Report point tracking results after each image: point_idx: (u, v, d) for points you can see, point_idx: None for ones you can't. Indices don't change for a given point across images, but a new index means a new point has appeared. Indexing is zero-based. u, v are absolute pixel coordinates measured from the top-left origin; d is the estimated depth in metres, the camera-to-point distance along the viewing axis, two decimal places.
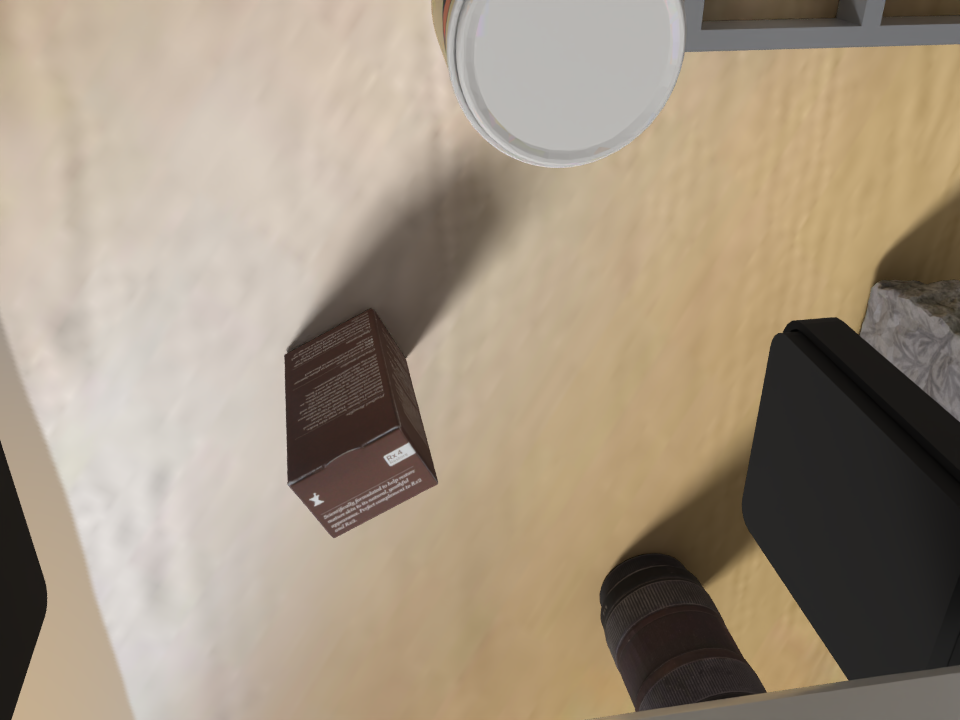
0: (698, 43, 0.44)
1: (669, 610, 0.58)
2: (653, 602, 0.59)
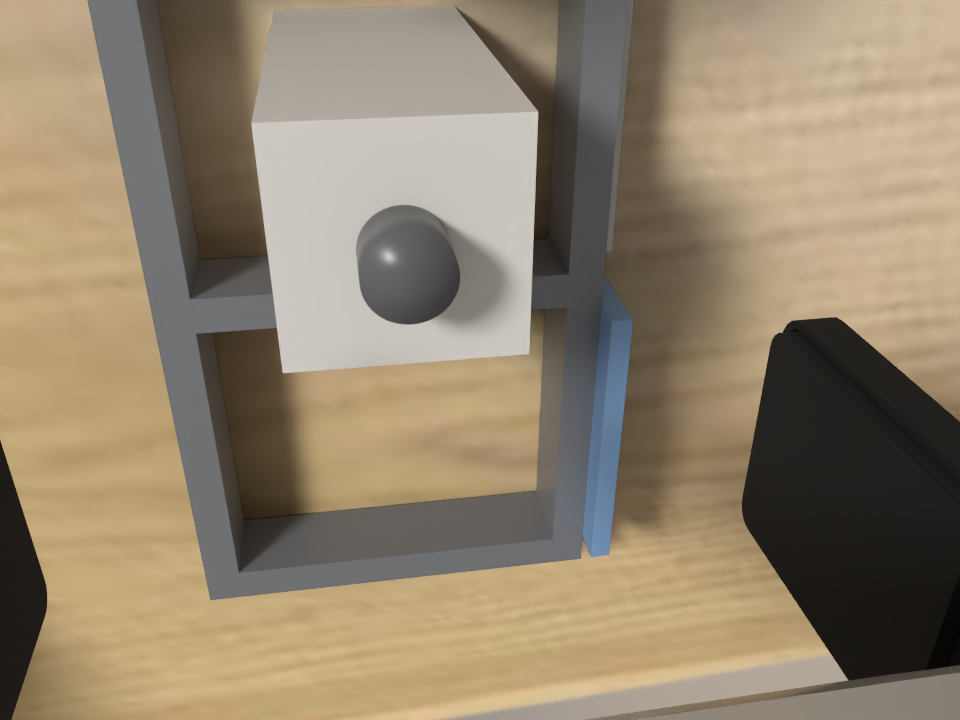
0: None
1: None
2: None
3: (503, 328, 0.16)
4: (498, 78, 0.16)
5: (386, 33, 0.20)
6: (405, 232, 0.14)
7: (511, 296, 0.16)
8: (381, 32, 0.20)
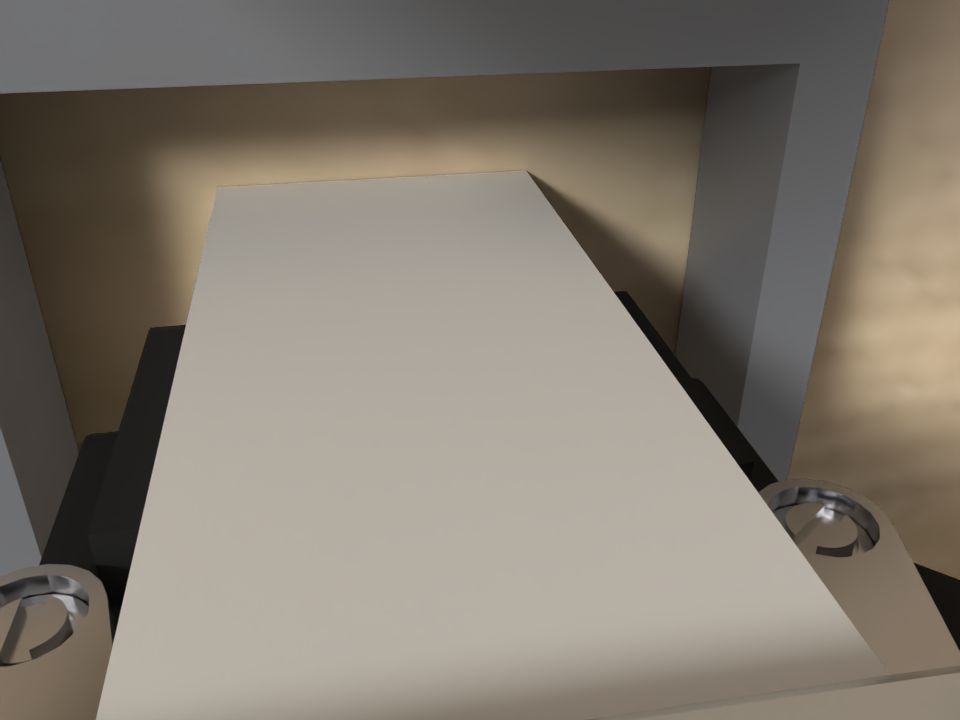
0: None
1: None
2: None
3: None
4: (719, 483, 0.07)
5: (423, 267, 0.10)
6: None
7: None
8: (413, 263, 0.10)
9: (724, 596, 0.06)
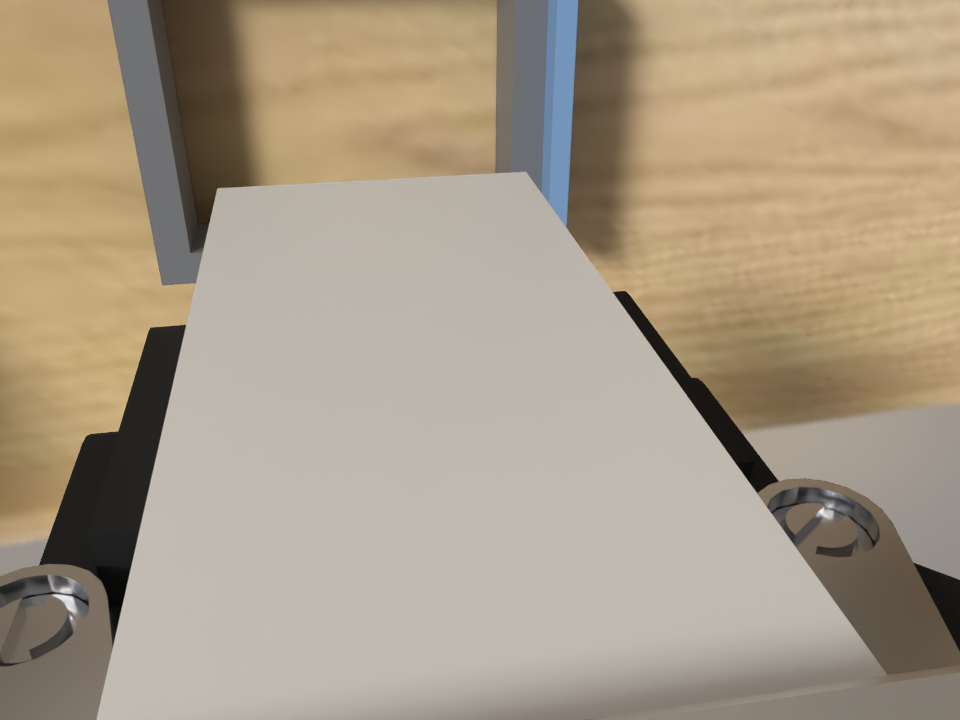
0: None
1: None
2: None
3: None
4: (720, 486, 0.07)
5: (424, 269, 0.10)
6: None
7: None
8: (413, 265, 0.10)
9: (725, 599, 0.06)
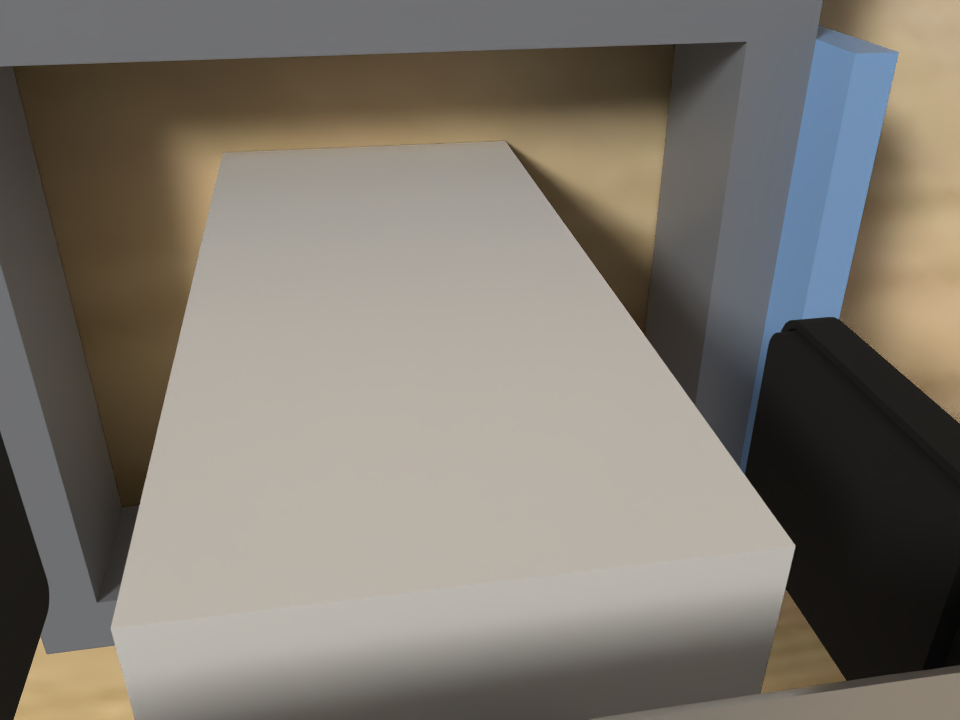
0: None
1: None
2: None
3: None
4: (651, 382, 0.08)
5: (408, 218, 0.12)
6: None
7: None
8: (399, 215, 0.12)
9: (645, 460, 0.07)
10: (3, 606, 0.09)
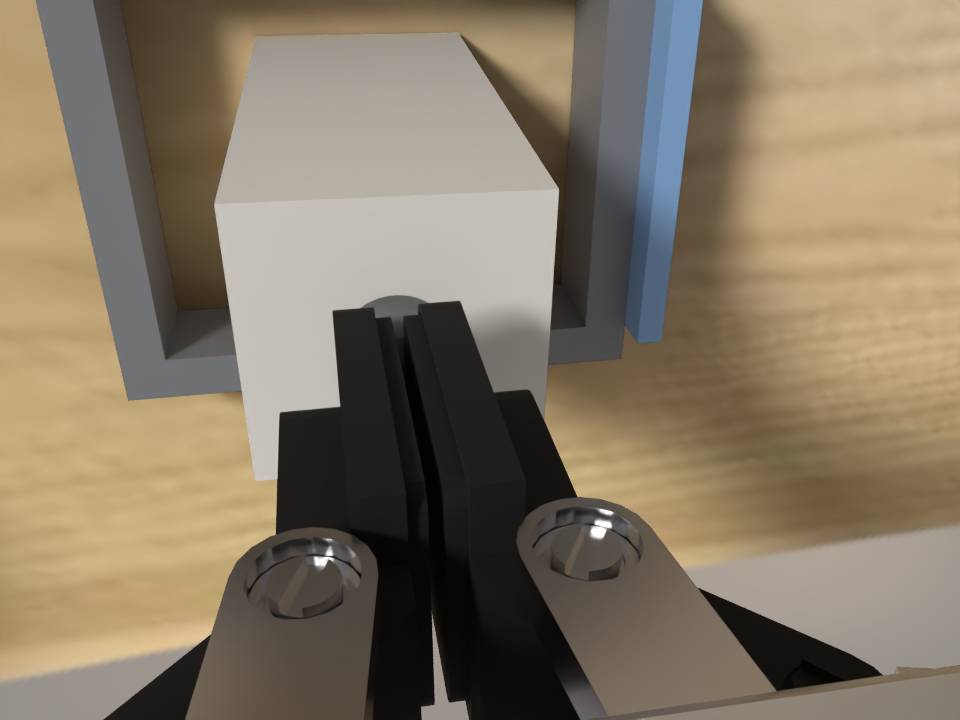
0: None
1: None
2: None
3: None
4: (510, 137, 0.14)
5: (381, 70, 0.17)
6: (398, 336, 0.12)
7: None
8: (375, 68, 0.18)
9: (494, 163, 0.13)
10: None
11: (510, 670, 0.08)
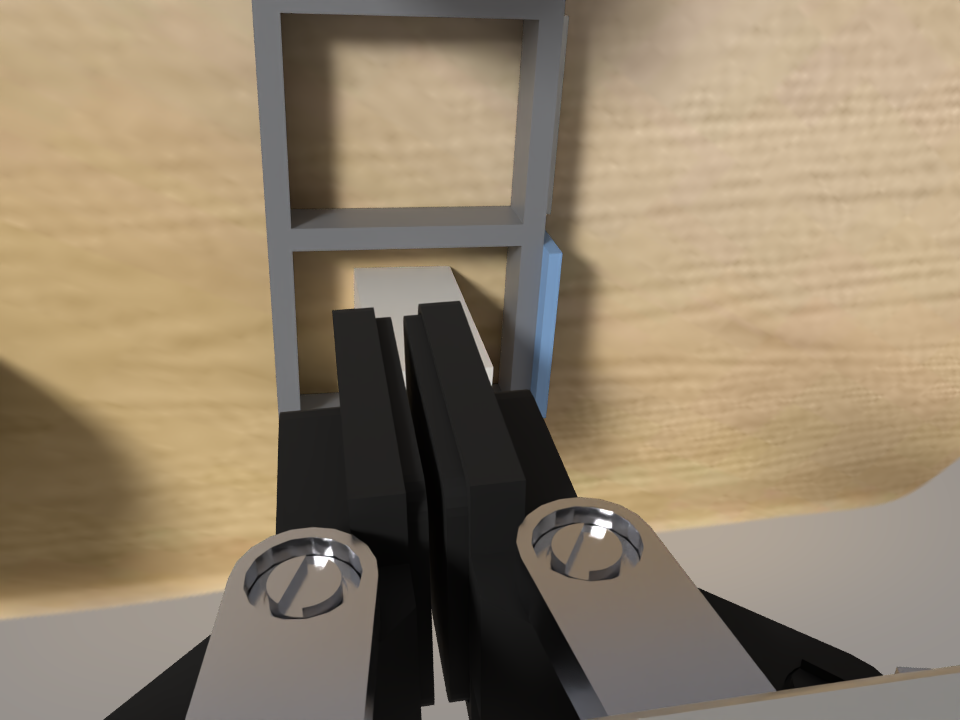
0: (262, 10, 0.33)
1: None
2: None
3: None
4: (475, 340, 0.36)
5: (418, 295, 0.39)
6: None
7: None
8: (415, 294, 0.39)
9: None
10: None
11: (510, 670, 0.08)
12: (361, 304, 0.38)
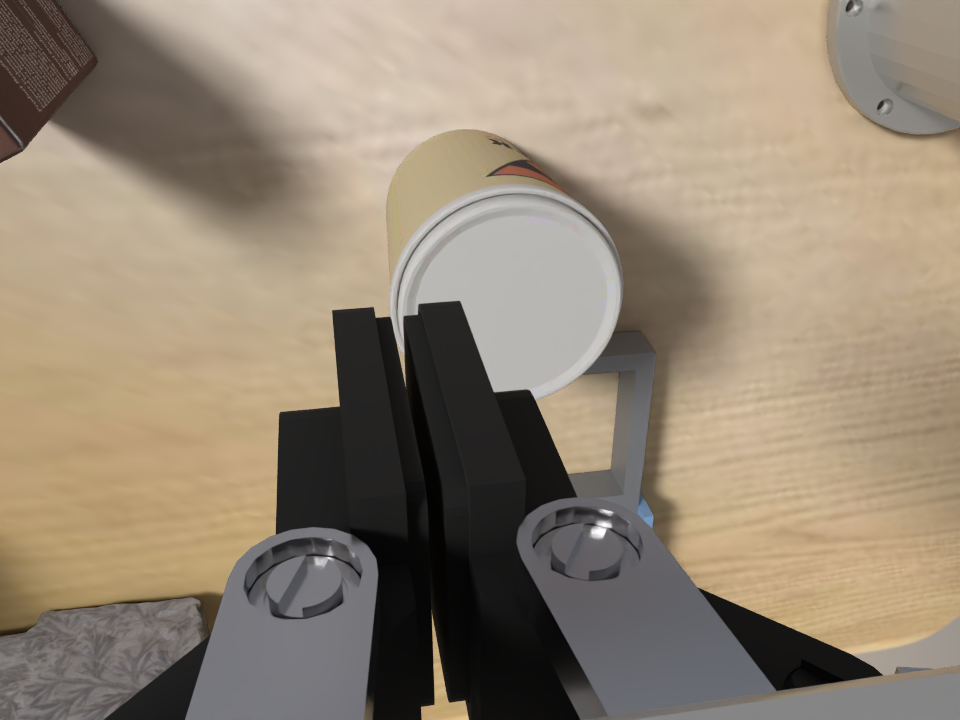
0: None
1: None
2: None
3: None
4: None
5: None
6: None
7: None
8: None
9: None
10: None
11: (510, 670, 0.08)
12: None
